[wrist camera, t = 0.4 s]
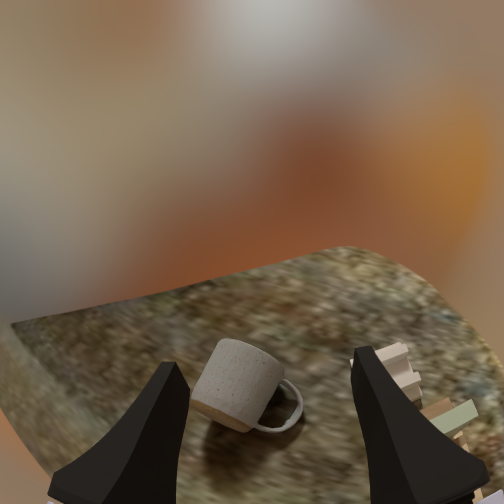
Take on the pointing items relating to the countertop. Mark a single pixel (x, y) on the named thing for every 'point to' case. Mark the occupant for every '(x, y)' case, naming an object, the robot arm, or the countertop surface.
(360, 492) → the countertop surface
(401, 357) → the stand
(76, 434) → the countertop surface
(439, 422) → the pale green square slab
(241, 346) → the ceramic mug
